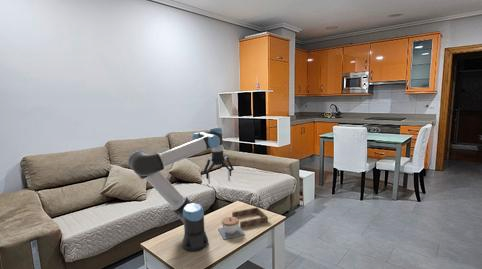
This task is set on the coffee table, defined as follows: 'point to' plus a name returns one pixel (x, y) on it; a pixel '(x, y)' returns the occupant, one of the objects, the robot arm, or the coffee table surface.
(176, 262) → the coffee table surface
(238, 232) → the grey mat
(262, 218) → the walnut holder
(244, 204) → the coffee table surface
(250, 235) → the coffee table surface
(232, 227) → the lidded jar
